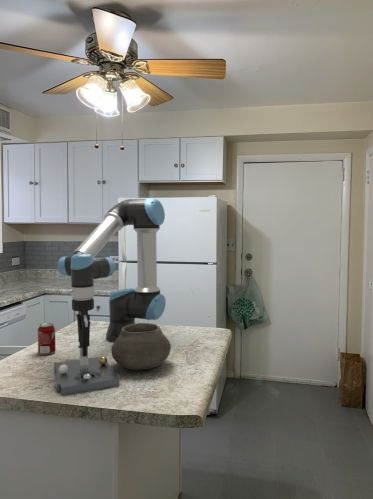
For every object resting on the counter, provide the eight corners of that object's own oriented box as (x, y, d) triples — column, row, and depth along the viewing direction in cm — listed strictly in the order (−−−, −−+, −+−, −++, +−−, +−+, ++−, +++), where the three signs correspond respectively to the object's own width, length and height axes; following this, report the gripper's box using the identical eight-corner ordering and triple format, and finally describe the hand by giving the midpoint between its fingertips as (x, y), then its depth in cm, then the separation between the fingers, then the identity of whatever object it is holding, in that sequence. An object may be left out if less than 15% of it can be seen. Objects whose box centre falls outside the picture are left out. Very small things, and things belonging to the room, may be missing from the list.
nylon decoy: (67, 371, 132) (67, 362, 132) (68, 374, 130) (68, 365, 129) (58, 372, 131) (58, 363, 131) (59, 375, 128) (59, 366, 128)
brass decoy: (106, 362, 141) (106, 354, 141) (108, 365, 138) (108, 357, 138) (98, 363, 140) (98, 355, 139) (99, 366, 137) (99, 358, 137)
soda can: (49, 356, 155) (49, 327, 155) (34, 355, 157) (34, 326, 156) (58, 351, 162) (58, 323, 161) (44, 350, 163) (43, 322, 163)
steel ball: (91, 372, 131) (92, 373, 128) (91, 382, 130) (93, 383, 127) (81, 373, 129) (82, 374, 127) (81, 383, 129) (83, 384, 126)
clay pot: (122, 382, 129) (121, 338, 128) (104, 362, 148) (104, 324, 147) (180, 371, 139) (180, 330, 138) (156, 354, 158) (156, 318, 157)
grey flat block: (51, 370, 140) (51, 363, 140) (106, 362, 148) (106, 355, 148) (58, 396, 118) (58, 388, 118) (122, 385, 126) (121, 377, 126)
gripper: (69, 296, 139) (70, 360, 141) (74, 302, 127) (76, 372, 129) (90, 294, 142) (91, 357, 144) (97, 300, 130) (98, 368, 132)
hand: (84, 364), depth 136 cm, fingers closed
